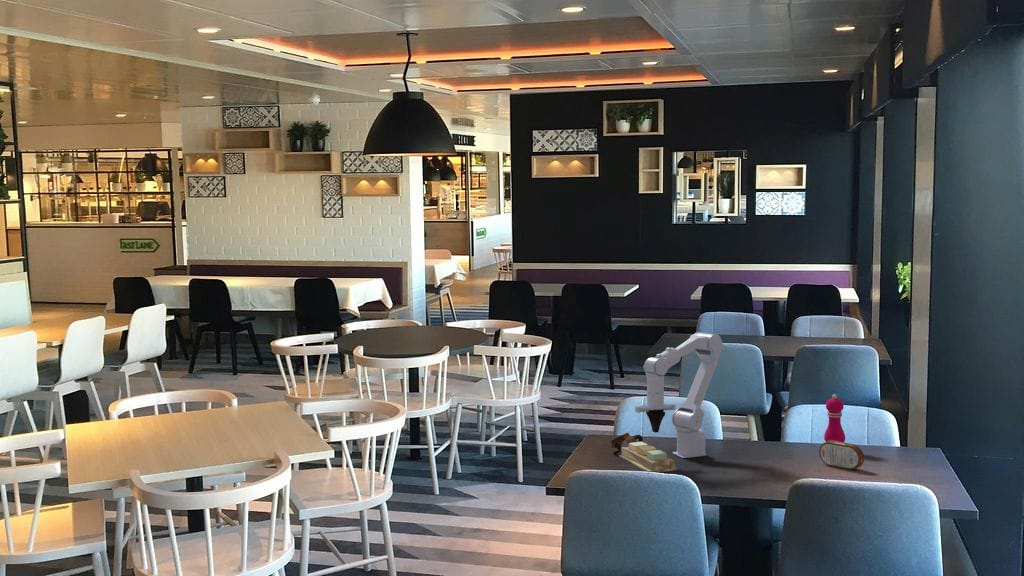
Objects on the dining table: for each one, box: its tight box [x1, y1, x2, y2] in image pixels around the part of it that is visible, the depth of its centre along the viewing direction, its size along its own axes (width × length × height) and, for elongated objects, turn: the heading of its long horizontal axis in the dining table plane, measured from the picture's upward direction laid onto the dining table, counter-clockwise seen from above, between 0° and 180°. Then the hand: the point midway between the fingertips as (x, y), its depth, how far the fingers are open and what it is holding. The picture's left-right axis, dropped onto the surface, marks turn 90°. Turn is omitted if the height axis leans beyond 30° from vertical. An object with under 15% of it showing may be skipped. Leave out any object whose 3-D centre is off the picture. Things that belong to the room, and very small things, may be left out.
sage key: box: [647, 449, 668, 461], centre depth 334 cm, size 5×5×2 cm
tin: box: [818, 440, 865, 471], centre depth 330 cm, size 15×3×8 cm, turn 43°
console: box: [618, 446, 678, 473], centre depth 341 cm, size 10×24×3 cm, turn 18°
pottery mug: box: [610, 432, 644, 451], centre depth 358 cm, size 12×10×8 cm
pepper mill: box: [823, 393, 846, 442], centre depth 354 cm, size 7×7×20 cm
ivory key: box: [628, 441, 649, 452], centre depth 348 cm, size 5×5×2 cm
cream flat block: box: [637, 444, 658, 456], centre depth 341 cm, size 5×5×2 cm
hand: (655, 431), depth 343 cm, fingers closed
